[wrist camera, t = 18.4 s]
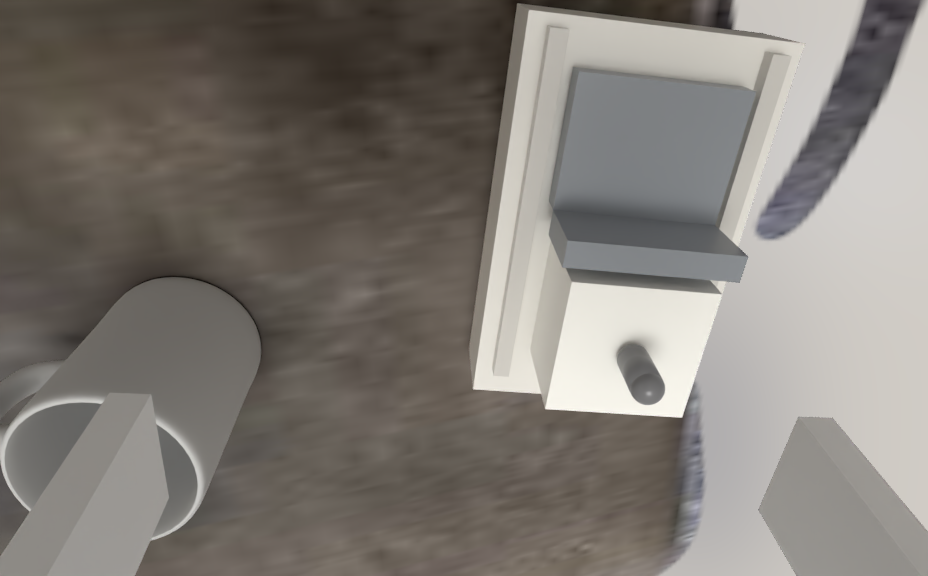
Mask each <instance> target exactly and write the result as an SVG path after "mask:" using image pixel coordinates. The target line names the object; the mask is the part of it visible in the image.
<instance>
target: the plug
mask: <svg viewBox="0 0 928 576" xmlns="http://www.w3.org/2000/svg"><path fill="white" fill-rule="evenodd" d="M721 298H722V293H721V292H720V291H719V290H718V289H717V288H716V286H715V285H714V284H713V283H712V282H711V281H710V280H702V279H690V278H679V277H667V276H655V275H643V274H632V273H620V272H608V271H597V270H585V269H573V268H562V265H561V263H560V261H559V258H558V256H557V254H556V251H555V249H554V247H553V244H552V242H551V241H550V246H549V252H548V257H547V262H546V268H545V273H544V278H543V284H542V289H541V294H540V300H539V305H538V310H537V316H536V321H535V326H534V332H533V337H532V342H531V348H530V352H531V355H532V359H533V363H534V367H535V371H536V375H537V379H538V383H539V387H540V391H541V395H542V399H543V402H544V406H545V409H554V410H570V411H586V412H602V413H618V414H634V415H649V416H665V417H681V418H682V416H683V413H684V410H685V407H686V404H687V401H688V398H689V395H690V392H691V389H692V386H693V382H694V379H695V376H696V373H697V370H698V367H699V364H700V361H701V358H702V355H703V352H704V349H705V346H706V343H707V340H708V337H709V334H710V331H711V328H712V325H713V322H714V319H715V316H716V313H717V310H718V307H719V303H720V301H721Z"/></svg>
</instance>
